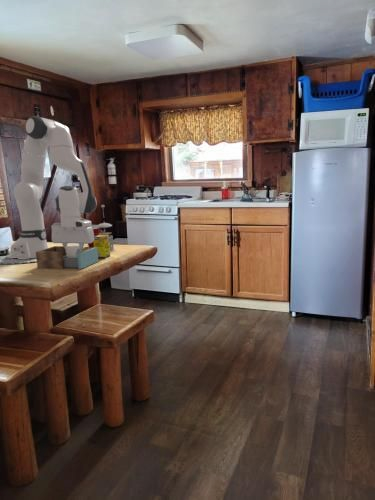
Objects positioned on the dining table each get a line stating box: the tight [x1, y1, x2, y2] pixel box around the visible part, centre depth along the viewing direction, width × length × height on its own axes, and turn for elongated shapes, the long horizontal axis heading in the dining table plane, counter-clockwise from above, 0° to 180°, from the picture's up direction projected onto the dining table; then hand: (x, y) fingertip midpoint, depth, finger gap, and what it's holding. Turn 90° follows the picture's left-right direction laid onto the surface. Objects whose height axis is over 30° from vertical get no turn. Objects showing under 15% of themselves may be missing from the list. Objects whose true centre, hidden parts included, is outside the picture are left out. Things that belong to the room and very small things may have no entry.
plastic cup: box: [87, 224, 101, 248], centre depth 224 cm, size 11×11×12 cm
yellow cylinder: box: [93, 234, 111, 259], centre depth 192 cm, size 6×6×11 cm
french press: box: [97, 204, 116, 253], centre depth 207 cm, size 10×12×25 cm
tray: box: [63, 247, 99, 270], centre depth 177 cm, size 13×15×7 cm
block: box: [66, 244, 80, 258], centre depth 177 cm, size 5×5×5 cm
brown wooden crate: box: [35, 245, 66, 270], centre depth 179 cm, size 13×14×8 cm
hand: (74, 252), depth 177 cm, fingers closed on block, 5 cm apart
